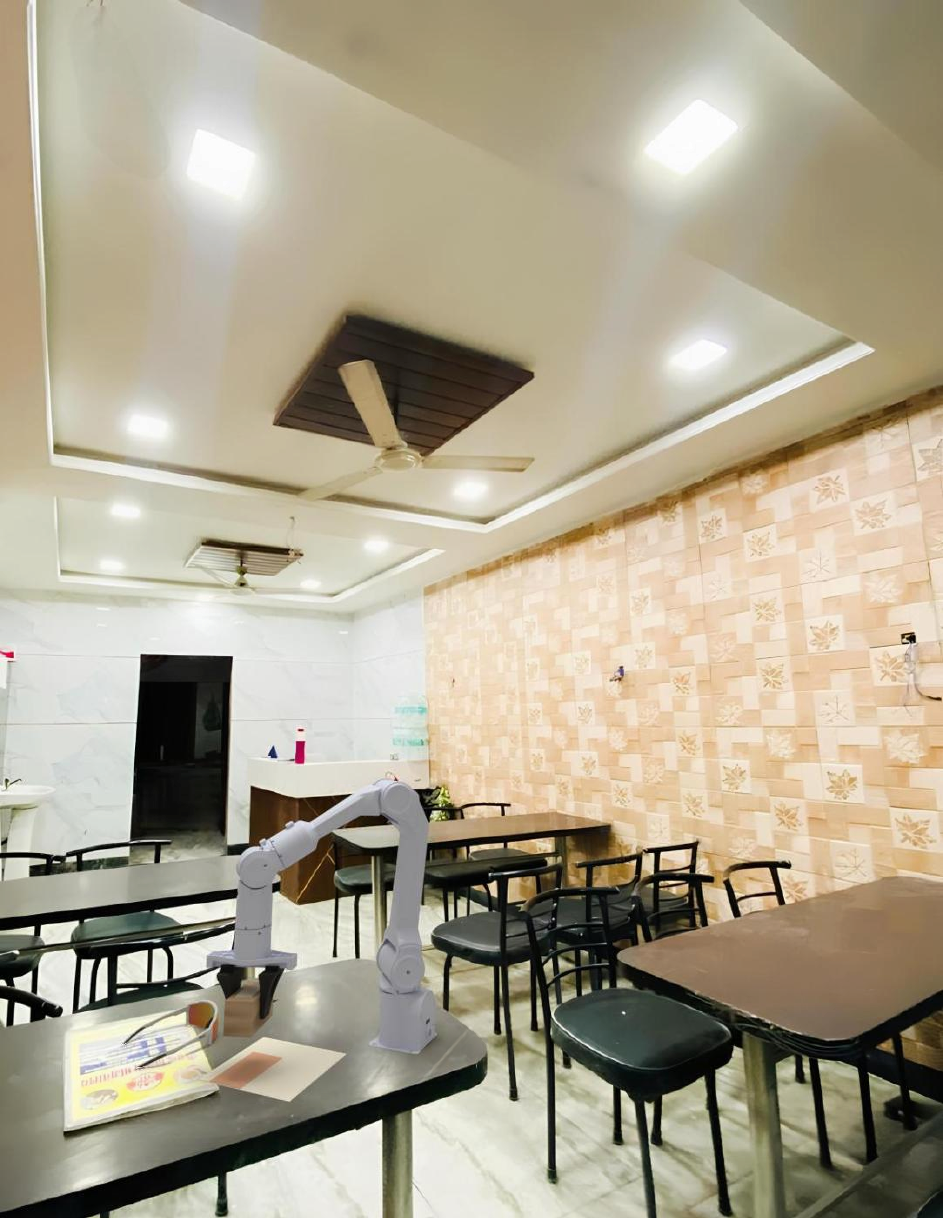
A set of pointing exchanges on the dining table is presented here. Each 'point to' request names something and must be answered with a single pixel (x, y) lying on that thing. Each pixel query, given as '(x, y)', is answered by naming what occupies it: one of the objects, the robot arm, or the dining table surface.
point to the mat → (274, 1068)
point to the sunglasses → (196, 1015)
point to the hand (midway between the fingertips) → (249, 1016)
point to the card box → (244, 1012)
